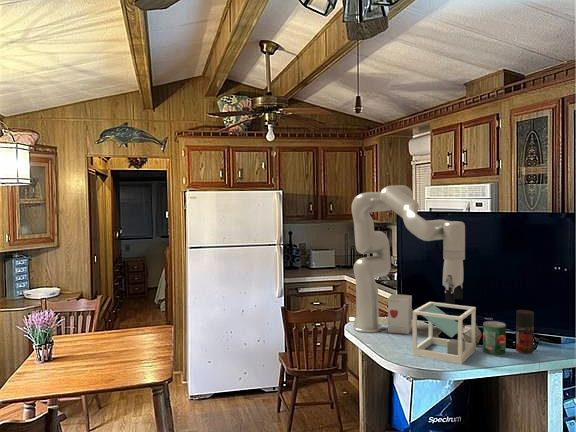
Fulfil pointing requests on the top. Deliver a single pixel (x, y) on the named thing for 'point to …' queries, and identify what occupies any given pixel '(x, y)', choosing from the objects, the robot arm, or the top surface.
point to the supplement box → (400, 313)
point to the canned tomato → (494, 338)
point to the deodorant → (525, 331)
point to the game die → (467, 334)
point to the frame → (461, 356)
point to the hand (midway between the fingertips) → (453, 301)
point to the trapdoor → (441, 321)
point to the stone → (454, 347)
